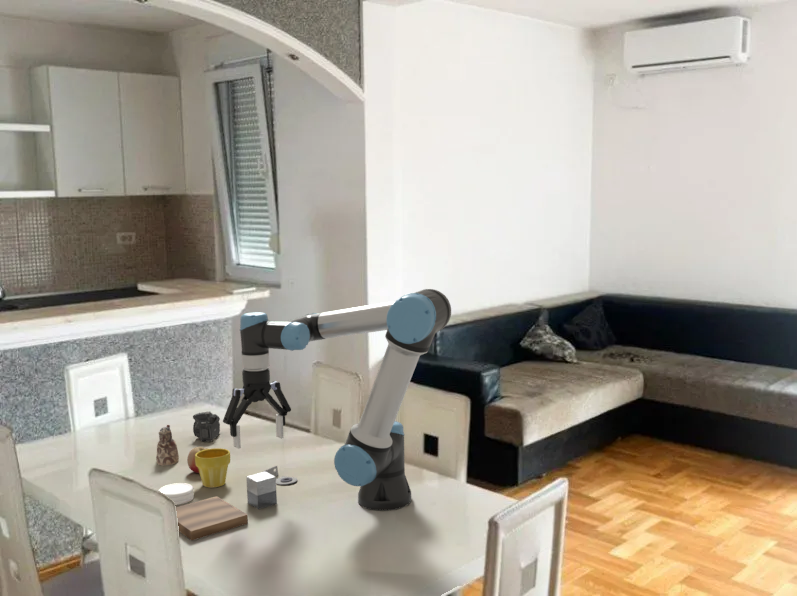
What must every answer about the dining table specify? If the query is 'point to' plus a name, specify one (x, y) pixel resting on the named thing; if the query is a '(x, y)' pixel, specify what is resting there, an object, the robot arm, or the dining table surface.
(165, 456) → the figurine
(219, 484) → the plant pot
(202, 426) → the camera
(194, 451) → the fruit
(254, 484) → the block
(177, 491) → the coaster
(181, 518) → the cutting board
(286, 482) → the bracket
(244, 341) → the robot arm
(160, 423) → the dining table surface
